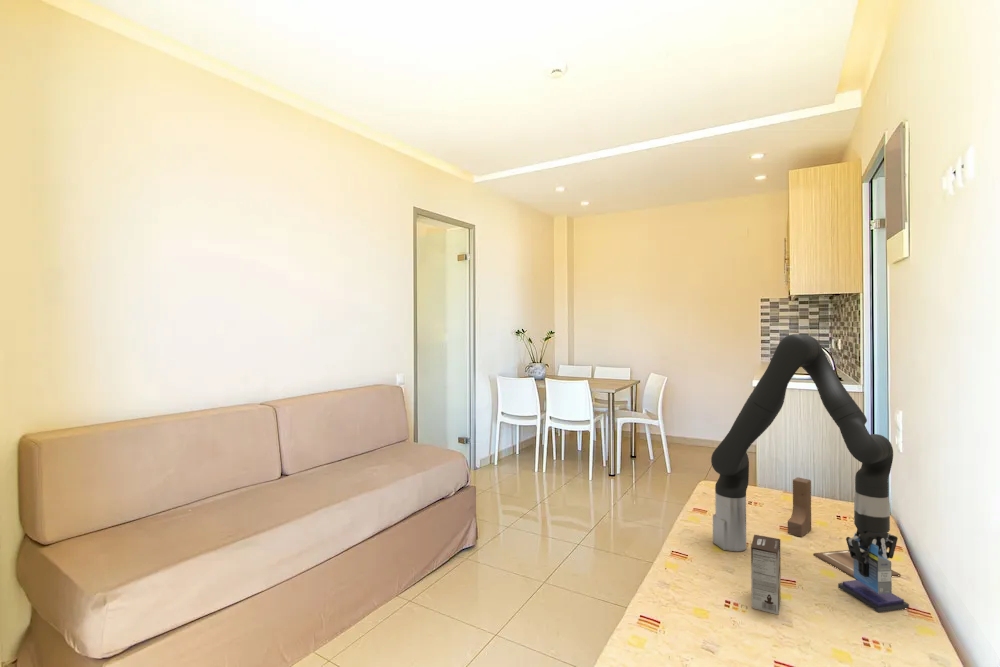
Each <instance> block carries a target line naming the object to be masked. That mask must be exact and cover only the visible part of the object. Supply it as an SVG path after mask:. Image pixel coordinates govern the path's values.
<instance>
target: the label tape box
mask: <svg viewBox="0 0 1000 667" xmlns="http://www.w3.org/2000/svg"><path fill="white" fill-rule="evenodd" d="M854 536H856V532H854V534H853V537H854ZM862 548H863V549H864V550H866V551H867V550H868V549H866V548H864V547H862ZM878 549H879V547H878V546H877V545H875V544H873V543H872V545H871V555H870V556H869V562H868V563H869V577H864V576H863V575H861V574H860V573H859V571H858V569H859V568H858V560H856V559H854V577H855V578H856V579H858V580H859V581H861V582H862V583H864V584H865V585H867V586H868V587H870V588H871V589H873V590H874V591H875V592H877V593H878V594H889V593H892V594H893V588H892V587H893V586H892V584H893V583H892V581H893V580H892V577H891V570H892V561H891V560H889V558H888V559H886V558H884V557H882V556H881V555H879V554H878ZM864 555H865V554H864V553H863V556H862V557H864ZM856 579H855V580H856Z"/></svg>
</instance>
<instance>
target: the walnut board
mask: <svg viewBox="0 0 1000 667" xmlns="http://www.w3.org/2000/svg"><path fill="white" fill-rule="evenodd" d="M813 556H814V557H816V558H817V557H818V558H817V559H819V560H821V561H822V562H825V563H826V562H827V563H826V564H828V563H829V564H828V565H830V564H831V565H832V566H831V565H830V566H831V567H833V566H834V567H833V568H835V567H836V568H835V569H837V568H838V569H839V570H838V569H837V570H838V571H840V570H841V571H840V572H842V573H844V574H845V573H846V574H845V575H847V576H849V577H851V578H852V579H853V580H858V579H856V578H855V577H854V558H852V557H851V555H850V552H849V549H842V550H833V551H824V552H821V551H820V552H813ZM898 575H900V576H901V573H900V572H899V573H898V572H897V571H895V570H893V569H891V578H893V577H892V576H898ZM898 577H899V576H898Z"/></svg>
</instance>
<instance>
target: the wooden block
mask: <svg viewBox="0 0 1000 667" xmlns="http://www.w3.org/2000/svg"><path fill="white" fill-rule="evenodd" d="M811 531H812V480H811V479H807V478H802V477H800V476H798V477H796V478H794V479H792V512H791V516H790V517H789V519H788V520H787V533H788V534H790V535H792V536H797V537H800V538H802V537H803V536H806V535H807V534H809V532H811Z"/></svg>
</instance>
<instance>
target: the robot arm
mask: <svg viewBox="0 0 1000 667" xmlns="http://www.w3.org/2000/svg"><path fill="white" fill-rule="evenodd" d="M825 353H826V352H824V350H823V348H822V345H821V344H820V342H819V341H818V340H817V339H816V338H815V337H813V336H811V335H807V334H801V333H800V334H799V333H792V334H789V335H786V336H785V337H783V338H782V339H781V340H780V341H779V342H778V345H777V346H776V349H775V350H774V353H773V355H772V358H771V359H770V361H769V364H768V365H767V367H766V369H765V371H764V372H763V374H762V376H761V378H760V379H759V380H758V382H757V384H756V386H755V388H754V389H753V390H752V392H750V395H749V396H748V398H747V399H746V401H745V403H744V405H743V406H742V408H741V409H740V412H739V413H738V415H737V417H736V418H735V420H734V423H733V424H732V426H731V428H730V430H729V431H728V433H727V434H726V436H724V437H723V439H722V441H721V442H720V443H719V444H718V445H717V447H716V448H715V449H714V451H713V452H712V454H711V458H710V459H711V460H710V462H711V466H712V468H713V470H714V471H715V472H716V473H717V474H718V475H719V477H718V479H717V480H716V483H715V488H714V490H715V492H714V494H715V495H714V496H715V497H714V498H715V500H714V501H715V502H714V505H715V507H714V508H715V509H714V510H715V514H712V543H713V544H715V545H716V546H717V547H719V548H720V549H721V550H722V551H730V552H743V551H745V550H747V490H748V487H749V481H750V480H749V479H750V478H749V477H750V474H749V473H750V460H749V455H748V452H747V451H748V450H749V448H750V447H751V445H752V444H753V443H754V442H755V441H756V440H757V439H759V437H760V436H761V435H762V434H763V433H764V432H765V431H766V430H767V429H768V428H769V427H770V426H771V425H772V424H773V422H774V421H775V419H776V418H777V416H778V415H779V413H780V411H781V409H782V408H783V405H784V403H785V398H786V393H787V388H788V385H789V383H790V382H791V380H792V379H793V377H794V375H795V374H796V372H797V371H798V370H799V369H800V368H801V367H802V369H803V370H804V371H805V372H806V373H807V375H808V376H809V377H810V379H812V381H813V383H814V384H815V387H816V389H817V392H818V394H819V397H820V400H821V402H822V405H823V406H824V409H825V410H826V412H827V414H829V416H830V417H831V419H832V420H833V421H834V423H835V425H836V426H837V427H838V428H839V431H840V434H841V436H842V439H843V441H844V443H845V446H846V448H847V450H848V452H849V453H850V455H852V457H853V458H854V459H855V460H857V461H858V462H860V463H861V467H860V468H859V469H858V470H857V471H856V472H855V476H854V478H855V479H854V480H855V481H854V482H855V483H854V484H855V487H854V500H853V503H854V504H853V506H854V507H853V512H854V514H853V518H854V521H853V522H854V526H855V527H856V532H855V533H856V536H854V535H853V536H852V537H850V536H846V539H845V540H846V545H847V547H848V550H849V552H850V555H851V557H852V558H854V559H856V560H858V568H859V569H858V571H859V573H860V574H861V575H863V576H864V577H869V563H868V562H869V556H870V555H871V545H872V543H873V544H875V545H877V546H878V547H879V549H878V554H879V555H881V556H882V557H884V558H886V559H888V560H889V559H891V560H892V559H893V558H894V555H895V551H896V547H897V543H898V539H899V538H898V536H896V535H893V534H892V533H889V532H890V529H891V519H890V518H891V517H890V516H891V514H890V512H891V510H890V509H891V508H890V506H891V505H890V500H889V476H890V473H891V468H892V466H893V459H894V449H893V445H892V443H891V441H890V440H889V439H888V438H887V437H885V436H884V435H881V434H876V433H874V434H873V433H872V434H870V432H869V430H868V428H867V426H866V424H867V422H868V420H867V417H866V415H865V413H863V411H862V409H861V408H860V407H859V405H858V404H857V402H856V401H855V400H854V399H853V397H852V396H851V394H850V393H849V392H848V391H847V389H846V388H845V386H844V385H843V383H842V382H841V380H840V379H839V377H838V376H837V374H836V372H835V370H834V368H833V367H832V365H831V363H830V361H829V359H828V357H827V355H826V354H825ZM862 547H864V548H866V549H868V550H867V551H866V550H864V549H863V548H862ZM863 553H864V554H865V555H864V557H862V556H863Z"/></svg>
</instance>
